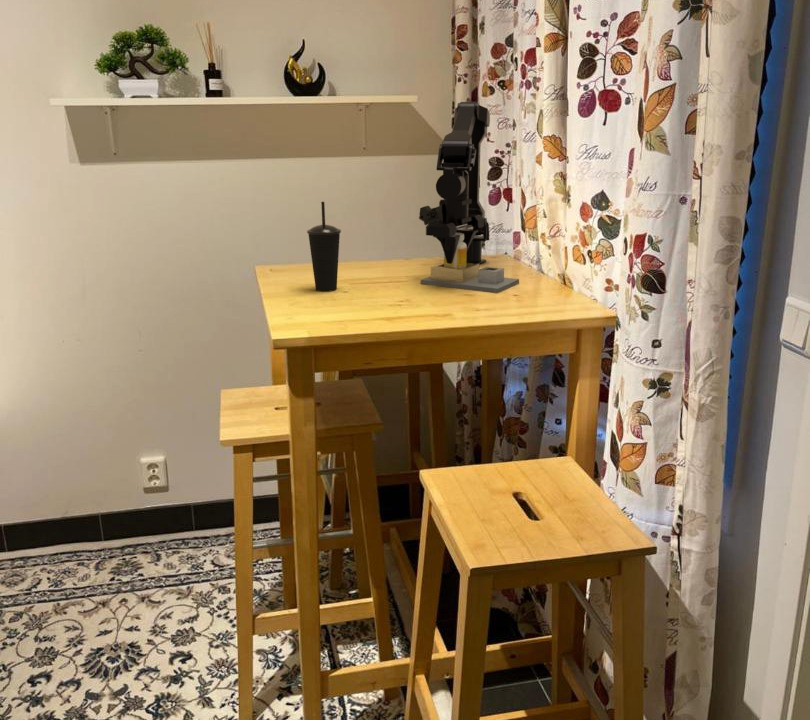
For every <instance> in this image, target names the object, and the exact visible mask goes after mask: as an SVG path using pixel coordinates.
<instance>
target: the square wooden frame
mask: <svg viewBox="0 0 810 720" xmlns="http://www.w3.org/2000/svg"><path fill="white" fill-rule="evenodd" d="M479 269H480V264H473V263H466V267H465V268H462V269H457V268H447V267H444V261H443V262H440V263H438V264H435V265H431V266H430V276H431V279H434V280H443V281H451V282H460V283H463V282H466V281H469V280H471V279H474V278H476V277H478V270H479Z"/></svg>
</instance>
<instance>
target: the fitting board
mask: <svg viewBox="0 0 810 720" xmlns="http://www.w3.org/2000/svg"><path fill="white" fill-rule="evenodd" d="M420 284H421V285H428V286H435V287H436V286H437V287H443V288H444V287H445V288H452V289H461V290H467V291H469V290H470V291H476V292H477V291H478V292H485V293H492V294H493V293H494V294H499V293H501V292H503V291H505V290H508V289H509V288H512V287H514V286H516V285H519V284H520V279H519V278H512V277H504V281H503V282H501V283H498V284H496V285H495V284H486V283H478V277H476V278H474V279H471V280H469V281H466V282H463V283H460V282H451V281H443V280H434V279H431V275H429V276H427V277H424V278H422V279H420Z"/></svg>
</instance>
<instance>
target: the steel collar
mask: <svg viewBox="0 0 810 720" xmlns="http://www.w3.org/2000/svg"><path fill="white" fill-rule="evenodd" d="M504 278H505V268H503V267H494V266H486V267H482V268H479V270H478V283H486V284H495V285H496V284H498V283H501V282H503V281H504Z"/></svg>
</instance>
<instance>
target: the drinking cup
mask: <svg viewBox="0 0 810 720" xmlns="http://www.w3.org/2000/svg"><path fill="white" fill-rule="evenodd" d="M325 205H326V204H325V201H321V224H319V225H314V226H312V227H311V228H308V230H306V233H307V235H308V241H309V249H310V255H311V262H312V271H313V272H312V273H313V278H314V279H313V280H314V285H315V287H314V288H315V291H318V292H334V291H336V290H337V288H338V270H339V253H340V252H339V251H340V238H341V237H340V236H341V235H340V234H341V233H342V229H340V228H338V227H335V226H333V225H329V224H326V209H325Z"/></svg>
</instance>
